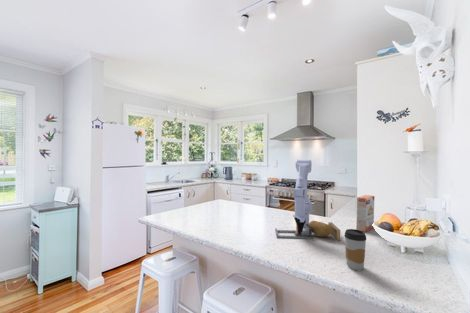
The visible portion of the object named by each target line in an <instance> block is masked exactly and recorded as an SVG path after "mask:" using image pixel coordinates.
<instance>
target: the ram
mask: <svg viewBox="0 0 470 313" xmlns="http://www.w3.org/2000/svg"><path fill="white" fill-rule="evenodd" d="M295 225H296V226H295V230H296V231H294V233H293V234H294V236H312V237H313V232H312V228H311V227H310V226H309V224H306V227H305V230H303V231H302V232H298V227H297V223H296V222H295Z"/></svg>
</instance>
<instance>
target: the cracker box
mask: <svg viewBox="0 0 470 313" xmlns="http://www.w3.org/2000/svg"><path fill="white" fill-rule="evenodd" d="M374 218H375V196H374V195H370V194H365V195H360V196H357V197H356V230H360V231H363V232H364V233H366V232H369V231H370V230H372V229H373V226H372V224H373V223H374V224H375V220H374Z"/></svg>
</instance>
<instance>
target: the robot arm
mask: <svg viewBox="0 0 470 313" xmlns="http://www.w3.org/2000/svg"><path fill="white" fill-rule="evenodd" d="M312 164H313V163H312V160H311V159H296V160H295V168H296V171H297V173H298V177H297V178H296V180H295V181H296V182H295V188H293V199H294V214H292V217H293V219H294V221H295V224H296V223H297V227H298V232H302V231H304V230H303V229H304V228H306V224H309V223H310V213H311V212H312V200H311V199H310V198H309V197H308V176H309V174H310V173H312Z"/></svg>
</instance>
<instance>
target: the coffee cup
mask: <svg viewBox="0 0 470 313" xmlns="http://www.w3.org/2000/svg"><path fill="white" fill-rule="evenodd" d="M343 236H344V243H345V247H344V248H345V249H344V250H345V259H346V265H347V267H348V268H349V269H351V270H353V271H362V270H363V269H364V266H365V256H366V242H367V235H366V232H363V231H360V230H356V229H355V228H349V229H348V228H347V229H346V230H345V232H344V235H343Z"/></svg>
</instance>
